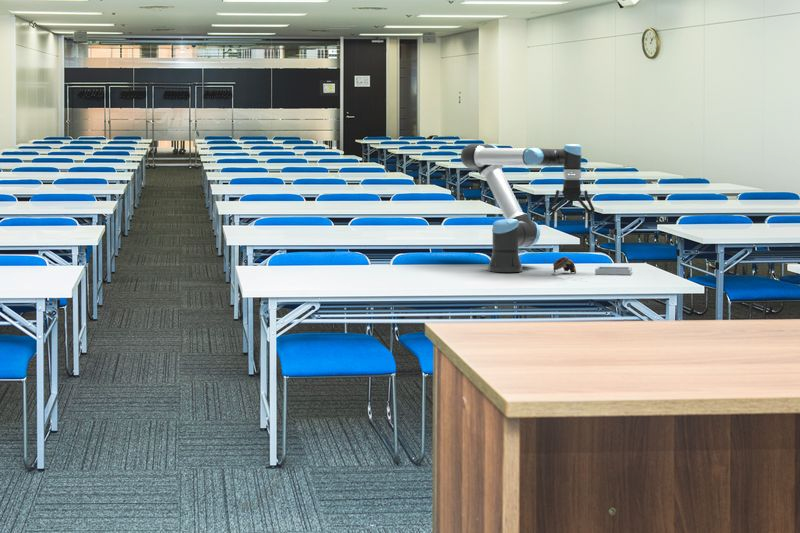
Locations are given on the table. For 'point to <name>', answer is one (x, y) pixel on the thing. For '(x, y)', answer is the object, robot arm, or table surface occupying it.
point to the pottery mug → (564, 265)
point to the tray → (613, 271)
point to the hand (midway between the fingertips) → (570, 227)
